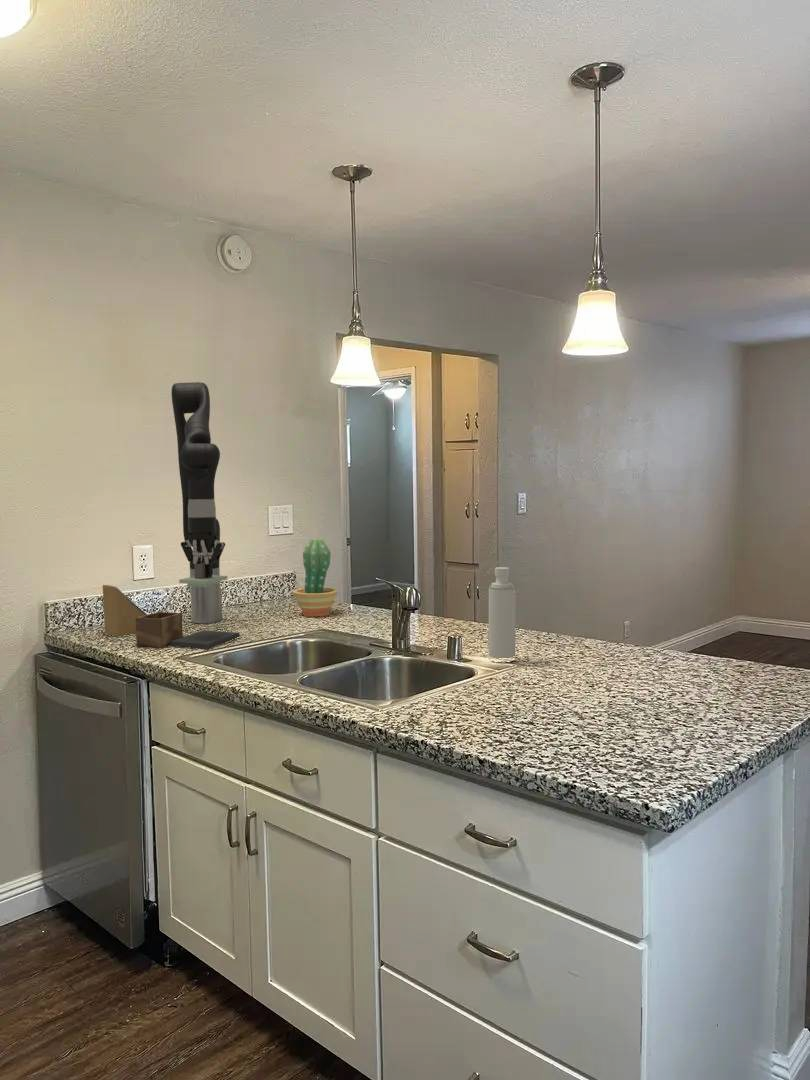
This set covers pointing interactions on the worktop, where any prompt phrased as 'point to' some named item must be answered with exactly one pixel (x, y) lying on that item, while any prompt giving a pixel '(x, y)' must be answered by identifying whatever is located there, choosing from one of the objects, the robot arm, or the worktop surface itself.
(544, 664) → the worktop surface
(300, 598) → the potted cactus
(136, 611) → the magazine file holder
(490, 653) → the grey bottle
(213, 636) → the plate
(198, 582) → the lid
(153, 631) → the walnut box
